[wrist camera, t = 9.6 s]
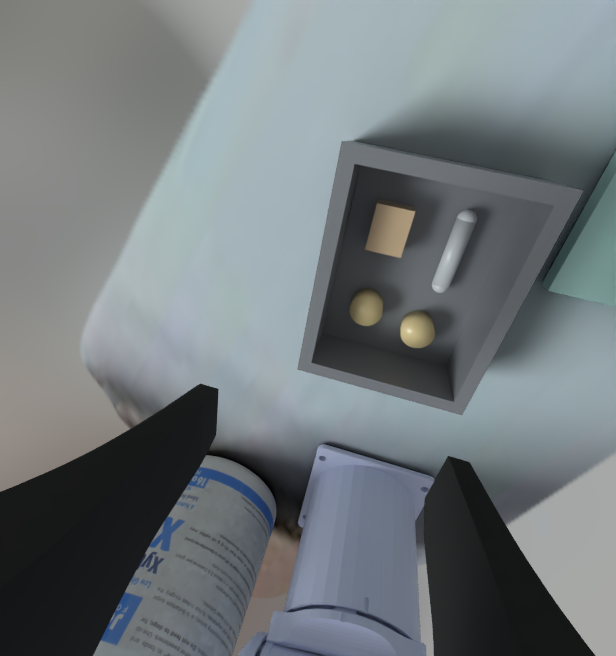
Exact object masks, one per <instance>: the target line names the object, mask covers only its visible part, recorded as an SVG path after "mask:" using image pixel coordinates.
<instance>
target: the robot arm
mask: <svg viewBox="0 0 616 656" xmlns="http://www.w3.org/2000/svg"><path fill="white" fill-rule="evenodd" d="M217 407H218V389H217V388H213V387H210V386H206V385H203V384H199V385H197V386H196V387H194V388H193V389H191V390H190V391H188V392H187V393H185V394H184V395H183V396H181V397H180V398H178V399H177V400H175V401H174V402H172V403H171V404H169V405H168V406H166V407H165V408H163V409H162V410H160V411H158V412H157V413H155V414H154V415H152V416H151V417H149V418H147V419H146V420H144V421H143V422H141V423H140V424H138V425H136V426H135V427H133V428H131V429H130V430H128V431H126V432H124V433H123V434H121V435H119V436H118V437H116V438H114V439H112V440H111V441H109V442H107V443H105V444H104V445H102V446H100V447H98V448H96V449H94V450H92V451H90V452H89V453H86V454H85V455H83V456H81V457H79V458H77V459H74V460H72V461H70V462H68V463H66V464H64V465H62V466H60V467H58V468H55V469H53V470H51V471H49V472H47V473H44V474H42V475H40V476H37V477H35V478H33V479H30V480H28V481H26V482H24V483H21V484H19V485H17V486H14V487H12V488H9V489H7V490H5V491H2V492H0V656H93V655H94V653H95V651H96V649H97V647H98V645H99V643H100V641H101V639H102V637H103V634H104V632H105V630H106V628H107V626H108V624H109V622H110V620H111V618H112V616H113V614H114V612H115V610H116V608H117V607H118V605H119V603H120V601H121V599H122V597H123V595H124V593H125V591H126V589H127V587H128V585H129V583H130V581H131V579H132V577H133V576H134V574H135V572H136V570H137V568H138V566H139V564H140V562H141V561H142V559H143V557H144V555H145V553H146V551H147V549H148V547H149V546H150V544H151V542H152V541H153V539H154V537H155V536H156V534H157V532H158V531H159V529H160V527H161V526H162V524H163V523H164V521H165V520H166V518H167V517H168V515H169V514H170V512H171V510H172V509H173V507H174V506H175V504H176V503H177V501H178V500H179V498H180V497H181V495H182V494H183V492H184V490H185V489H186V487H187V486H188V484H189V483H190V481H191V480H192V478H193V476H194V475H195V473H196V472H197V470H198V469H199V467H200V465H201V464H202V462H203V460H204V458H205V456H206V454H207V452H208V450H209V448H210V446H211V444H212V442H213V440H214V438H215V436H216V426H217ZM323 456H324V457H323ZM423 507H424V542H425V553H426V564H427V574H428V584H429V594H430V604H431V614H432V624H433V641H434V656H595V655H594V653H593V652H592V651H591V649H590V648H589V647H588V646H587V644H586V643H585V642H584V640H583V639H582V638H581V636H580V635H579V634H578V632H577V631H576V630H575V628H574V627H573V625H572V624H571V623H570V621H569V620H568V619H567V617H566V616H565V615H564V613H563V612H562V611H561V609H560V608H559V607H558V605H557V604H556V602H555V601H554V599H553V598H552V596H551V595H550V594H549V592H548V591H547V589H546V588H545V586H544V585H543V584H542V582H541V580H540V579H539V577H538V576H537V574H536V573H535V571H534V570H533V568H532V567H531V565H530V564H529V562H528V561H527V559H526V558H525V556H524V554H523V553H522V551H521V550H520V548H519V547H518V545H517V543H516V542H515V540H514V539H513V537H512V535H511V533H510V532H509V530H508V528H507V527H506V525H505V523H504V522H503V520H502V518H501V517H500V515H499V513H498V512H497V510H496V508H495V506H494V505H493V503H492V501H491V499H490V498H489V496H488V494H487V492H486V491H485V489H484V487H483V485H482V483H481V482H480V480H479V478H478V476H477V475H476V473H475V471H474V469H473V468H472V466H471V464H470V462H467V461H463V460H460V459H457V458H453V457H450V456H448V457H447V459H446V461H445V463H444V465H443V466H442V468H441V470H440V472H439V474H438V475H437V477H436V479H435V480H434V478H433V477H431V476H429V475H426V474H422V473H419V472H415V471H412V470H409V469H405V468H402V467H399V466H395V465H392V464H389V463H385V462H382V461H379V460H375V459H372V458H369V457H365V456H362V455H359V454H355V453H352V452H349V451H345V450H342V449H339V448H335V447H332V446H329V445H324V444H323V445H320V446H319V447H318V449H317V453H316V457H315V460H314V464H313V468H312V472H311V475H310V479H309V483H308V486H307V490H306V494H305V497H304V501H303V505H302V508H301V512H300V516H299V520H298V524H299V526H300V527H302V528H303V532H302V536H301V540H300V544H299V548H298V553H297V557H296V561H295V565H294V569H293V574H292V578H291V582H290V586H289V590H288V594H287V599H286V603H285V607H284V611H283V612H279V611H274V612H273V616H272V620H271V624H270V628H269V631H268V633H267V632H258V633H256V635H254V636H253V637H252V638H251V640H250V641H249V642H248V643H247V644H246V645H245V646H244V647H243V648H242V650H241V651H240V652H239V654H238V656H426V646H425V644H424V643H421V635H420V615H419V593H418V574H417V573H418V572H417V551H416V530H415V521H416V519H417V517H418V516H419V514H420V512H421V510H422V508H423Z"/></svg>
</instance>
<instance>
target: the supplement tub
mask: <svg viewBox="0 0 616 656" xmlns="http://www.w3.org/2000/svg"><path fill="white" fill-rule="evenodd" d="M275 519H276V503H275V500H274V497H273V495H272V493H271V491H270V490H269V488H268V487H267V485H266V484H265V483H264V482H263V481H262V480H261V479H260V478H259V477H258V476H257V475H256V474H254V473H253V472H252V471H250V470H249V469H247V468H246V467H244V466H242V465H240V464H238V463H236V462H234V461H231V460H228V459H225V458H221V457H217V456H210V455H206V456H205V458H204V460H203V462H202V464H201V465H200V467H199V469H198V470H197V472H196V473H195V475H194V476H193V478H192V480H191V481H190V483H189V484H188V486H187V487H186V489H185V490H184V492H183V494H182V495H181V497H180V498H179V500H178V501H177V503H176V504H175V506H174V507H173V509H172V510H171V512H170V514H169V515H168V517H167V518H166V520H165V521H164V523H163V524H162V526H161V527H160V529H159V531H158V532H157V534H156V536H155V537H154V539H153V541H152V542H151V544H150V546H149V547H148V549H147V551H146V553H145V555H144V557H143V559H142V561H141V562H140V564H139V566H138V568H137V570H136V572H135V574H134V576H133V577H132V579H131V581H130V583H129V585H128V587H127V589H126V591H125V593H124V595H123V597H122V599H121V601H120V603H119V605H118V607H117V608H116V610H115V612H114V614H113V616H112V618H111V620H110V622H109V624H108V626H107V628H106V630H105V632H104V634H103V637H102V639H101V641H100V643H99V645H98V647H97V649H96V651H95V653H94V655H93V656H232V655H233V652H234V648H235V645H236V642H237V639H238V636H239V633H240V629H241V626H242V623H243V620H244V617H245V614H246V611H247V608H248V605H249V601H250V598H251V595H252V592H253V589H254V586H255V583H256V580H257V577H258V573H259V570H260V567H261V564H262V561H263V558H264V555H265V552H266V548H267V545H268V542H269V539H270V536H271V533H272V529H273V526H274V523H275Z"/></svg>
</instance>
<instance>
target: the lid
mask: <svg viewBox="0 0 616 656" xmlns="http://www.w3.org/2000/svg"><path fill="white" fill-rule="evenodd" d="M542 285H543V286H544V287H545V288H546V289H547V290H548V291H550V292H555V293H559V294H563V295H567V296H572V297H576V298H580V299H584V300H589V301H593V302H597V303H601V304H606V305H610V306H614V307H616V151H615V153H614V155H613V157H612V158H611V160H610V162H609V164H608V166H607V167H606V169H605V171H604V173H603V175H602V176H601V178H600V180H599V182H598V184H597V185H596V187H595V189H594V191H593V193H592V194H591V196H590V198H589V200H588V202H587V203H586V205H585V207H584V209H583V211H582V212H581V214H580V216H579V218H578V220H577V221H576V223H575V225H574V227H573V229H572V230H571V232H570V234H569V236H568V238H567V239H566V241H565V243H564V245H563V247H562V248H561V250H560V252H559V254H558V256H557V257H556V259H555V261H554V263H553V265H552V266H551V268H550V270H549V272H548V274H547V275H546V277H545V279H544V281H543V283H542Z"/></svg>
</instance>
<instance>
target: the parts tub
mask: <svg viewBox="0 0 616 656" xmlns="http://www.w3.org/2000/svg"><path fill="white" fill-rule="evenodd" d="M582 193H583V190H580V189H576V188H573V187H569V186H566V185H562V184H558V183H555V182H551V181H548V180H544V179H539V178H534V177H529V176H525V175H520V174H515V173H510V172H505V171H500V170H495V169H490V168H485V167H480V166H475V165H470V164H465V163H460V162H455V161H450V160H445V159H440V158H435V157H431V156H426V155H421V154H416V153H411V152H406V151H401V150H396V149H391V148H386V147H381V146H376V145H371V144H366V143H361V142H356V141H342V142H341V148H340V153H339V158H338V163H337V168H336V173H335V178H334V184H333V189H332V194H331V199H330V204H329V209H328V215H327V220H326V225H325V230H324V235H323V240H322V245H321V251H320V256H319V261H318V266H317V271H316V276H315V281H314V287H313V292H312V297H311V302H310V307H309V312H308V317H307V323H306V328H305V333H304V338H303V343H302V348H301V354H300V359H299V364H298V370H302V371H305V372H309V373H312V374H316V375H320V376H323V377H327V378H330V379H334V380H338V381H341V382H345V383H348V384H352V385H355V386H359V387H363V388H366V389H370V390H373V391H377V392H381V393H384V394H388V395H391V396H395V397H399V398H402V399H406V400H409V401H413V402H417V403H420V404H424V405H427V406H431V407H435V408H438V409H442V410H445V411H449V412H453V413H456V414H460V415H462V414H463V412H464V411H465V409H466V407H467V405H468V403H469V401H470V400H471V398H472V396H473V394H474V392H475V390H476V388H477V387H478V385H479V383H480V381H481V379H482V377H483V376H484V374H485V372H486V370H487V368H488V366H489V364H490V363H491V361H492V359H493V357H494V355H495V353H496V352H497V350H498V348H499V346H500V344H501V342H502V340H503V339H504V337H505V335H506V333H507V331H508V329H509V328H510V326H511V324H512V322H513V320H514V318H515V316H516V315H517V313H518V311H519V309H520V307H521V305H522V304H523V302H524V300H525V298H526V296H527V294H528V292H529V291H530V289H531V287H532V285H533V283H534V281H535V280H536V278H537V276H538V274H539V272H540V270H541V268H542V267H543V265H544V263H545V261H546V259H547V257H548V256H549V254H550V252H551V250H552V248H553V246H554V244H555V243H556V241H557V239H558V237H559V235H560V233H561V232H562V230H563V228H564V226H565V224H566V222H567V220H568V219H569V217H570V215H571V213H572V211H573V209H574V208H575V206H576V204H577V202H578V200H579V198H580V196H581V195H582Z"/></svg>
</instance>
